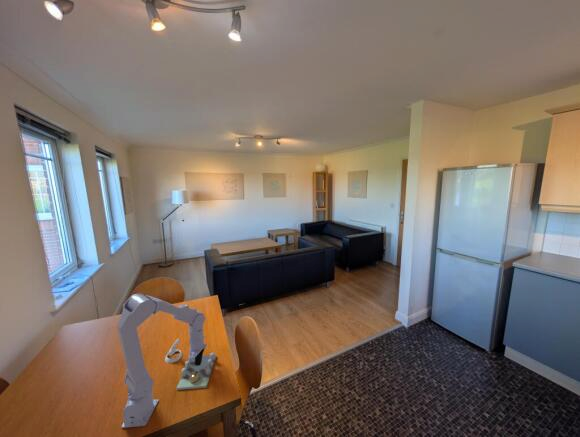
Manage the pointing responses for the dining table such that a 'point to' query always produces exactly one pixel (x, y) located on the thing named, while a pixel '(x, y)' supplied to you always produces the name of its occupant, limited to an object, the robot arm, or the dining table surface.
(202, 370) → the board
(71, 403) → the dining table surface
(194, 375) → the brass metal puck
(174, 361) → the vr controller
